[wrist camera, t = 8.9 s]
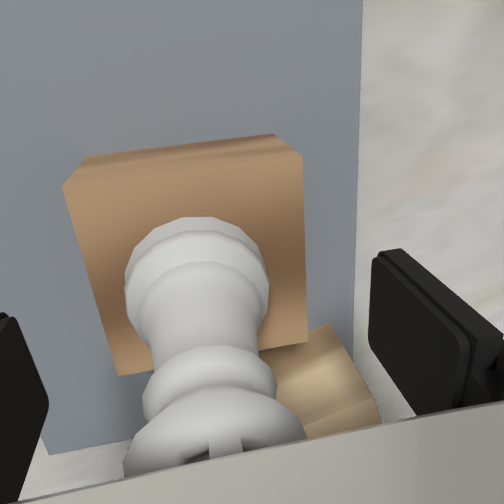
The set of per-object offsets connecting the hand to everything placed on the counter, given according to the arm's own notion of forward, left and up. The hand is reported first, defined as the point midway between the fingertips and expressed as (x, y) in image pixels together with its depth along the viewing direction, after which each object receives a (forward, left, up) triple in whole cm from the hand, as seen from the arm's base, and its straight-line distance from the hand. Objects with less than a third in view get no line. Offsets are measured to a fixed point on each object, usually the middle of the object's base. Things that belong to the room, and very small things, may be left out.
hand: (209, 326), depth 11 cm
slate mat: (+1, -1, -8) cm, 8 cm away
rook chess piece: (0, 0, -3) cm, 3 cm away
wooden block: (0, 0, -7) cm, 7 cm away
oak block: (+9, +4, -7) cm, 12 cm away
